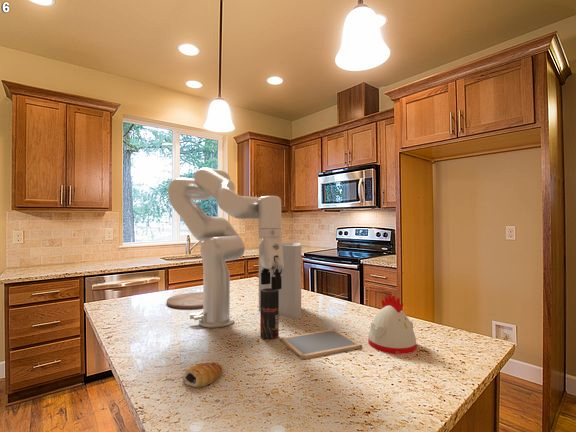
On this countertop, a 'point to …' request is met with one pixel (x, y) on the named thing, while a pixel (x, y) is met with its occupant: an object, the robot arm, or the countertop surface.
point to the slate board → (319, 343)
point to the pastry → (202, 374)
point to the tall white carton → (288, 281)
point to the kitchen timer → (392, 329)
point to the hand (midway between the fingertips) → (270, 286)
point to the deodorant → (269, 314)
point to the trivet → (186, 301)
